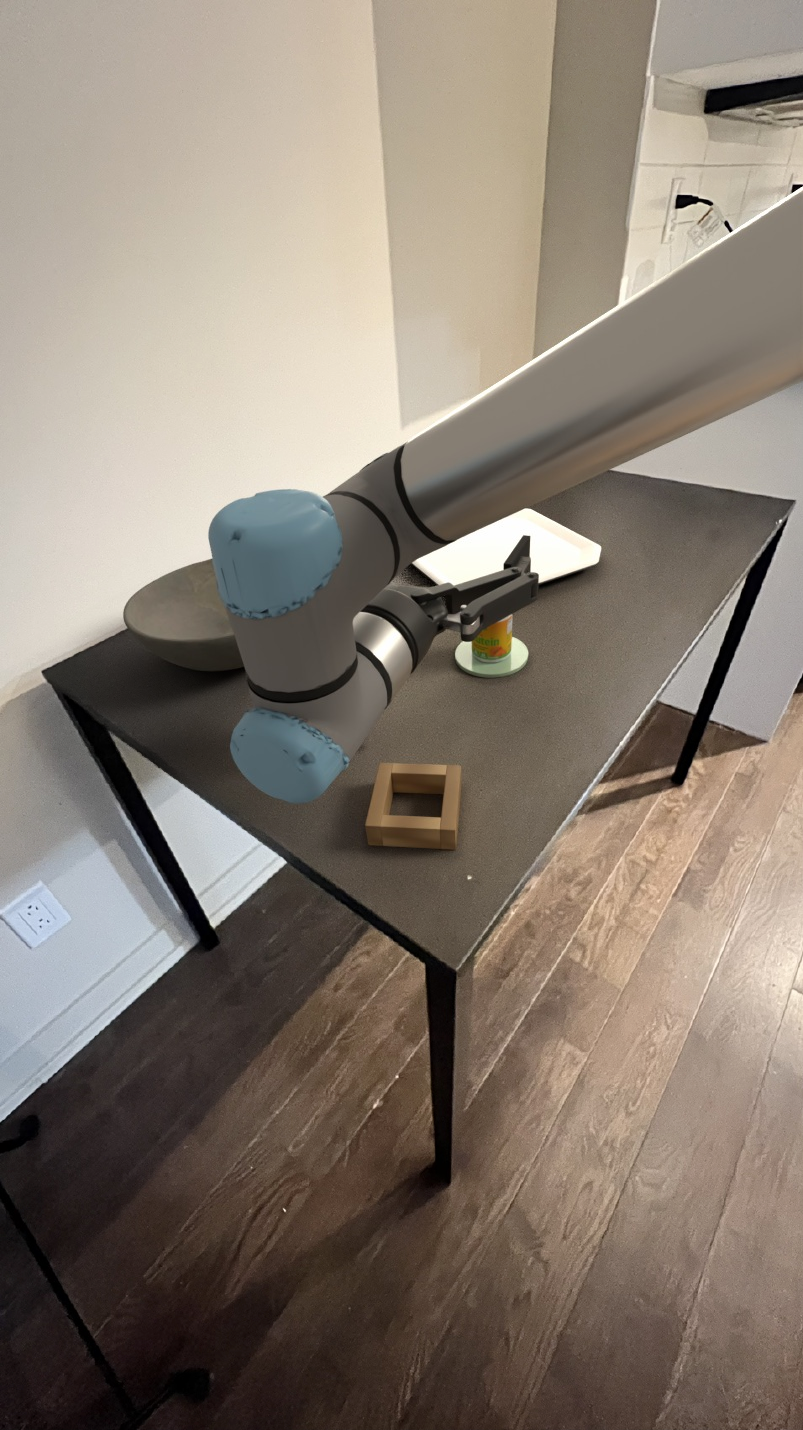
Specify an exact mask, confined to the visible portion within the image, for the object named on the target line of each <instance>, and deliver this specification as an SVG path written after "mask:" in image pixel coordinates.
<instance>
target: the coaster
mask: <svg viewBox="0 0 803 1430" xmlns="http://www.w3.org/2000/svg"><path fill="white" fill-rule="evenodd" d="M528 649H529V648H528V647H527V646H526V645H525V643H524V642H523V641H521V640H520V639H519V638H516V637H514V636H512V645H511V653H510V655H509V657H508V658H506V659H505V660H503V661H500V662H495V663H487V662H482V661H480V660H478V659H476V658H475V657H474V656H473V654H472V641H471V642H464V641H461V642H460V643H459V644H458V645H457V646H456V649H455V651H454V660H455V663H456V665H457V666H458V667H459V669H460V670H462V671H463V672H465V673H466V674H469V675H472V676H475V677H479V678H488V679H494V678H503V677H507V676H511V675H513V674H515V673H518V672H519V671H521V670H522V669H523V668H524V667H525V666H526V665H527V663H528V660H529V650H528Z"/></svg>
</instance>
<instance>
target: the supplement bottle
mask: <svg viewBox="0 0 803 1430" xmlns="http://www.w3.org/2000/svg"><path fill="white" fill-rule="evenodd" d="M513 614H514V613H513ZM513 614H511V615H509V616H507V617H506V618H504V619H502V620H500V621H498V622H497V623H495V624H493V625H491V626H489V627H487V628H486V629H484V630H482V631H481V632H480V634H479V635H478V636H477V637H476V638H475V639H474V640H473V641H472V654H473V656H474V657H475V658H476V659H478V660H480V661H482V662H487V663H495V662H500V661H503V660H505V659H506V658H508V657H509V655H510V653H511V645H512V637H513Z"/></svg>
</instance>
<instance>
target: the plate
mask: <svg viewBox="0 0 803 1430" xmlns="http://www.w3.org/2000/svg"><path fill="white" fill-rule="evenodd" d="M523 535H527V536H531V537H530V558H531V572H535V573H538V574H539V583H538V586H540V585H543V584H546V583H549V582H552V581H556V580H557V579H561V578H564V577H567V576H569V575H573V574H575V573H579V572H581V571H584V570H588V569H591V568H593V567H596V566H598V564H599V562H600V558H601V553H602V546H601V545H600V544H598V543H597V542H595V541H592V540H590V539H589V538H587V537H585V536H583V535H581V534H579V533H578V532H575V531H573V530H571V529H569V528H568V527H566V526H563V525H562V524H560V523H558V522H556V521H554V520H553V519H550V518H549V517H546V516H544V515H543V514H541V513H539V512H537V511H535V510H533V509H531V508H525V509H523V510H521V511H519V512H517V513H514V514H512V515H510V516H508V517H506V518H504V519H501V520H499V521H497V522H495V523H493V524H490V525H488V526H486V527H484V528H482V529H480V530H477V531H475V532H473V533H471V534H469V535H467V536H464V537H462V538H460V539H458V540H457V541H455V542H453V543H450V544H448V545H446V546H445V547H443V548H440V549H438V550H436V551H434V552H432V553H430V554H427V555H425V556H423V557H421V558H419V559H417V560H416V561H414V562H412V563H411V564H410V565H412V566H413V567H414V568H416V570H418V571H419V572H421V573H422V574H423V575H424V576H425V577H427V578H428V580H430V581H431V582H433V583H434V584H435V586H438V585H441V584H444V583H447V582H450V583H452V584H453V585H457V584H460V583H463V582H467V581H470V580H473V579H476V578H479V577H483V576H486V575H489V574H492V573H495V572H499V571H502V570H503V567H504V562H505V561H506V559H507V558H508V556H509V555H510V554H511V552H512V551H513V549H514V548H515V546H516V545H517V543H518V542H519V541H520V539H521V538H522V536H523Z"/></svg>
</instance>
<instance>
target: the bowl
mask: <svg viewBox="0 0 803 1430" xmlns="http://www.w3.org/2000/svg"><path fill="white" fill-rule="evenodd" d="M123 607H124V608H123V614H122V619H123V622H124V625H125V627H126V628H127V630H128V631H129V633H130V634H131V635H132V636H133V637H134V639H135V640H136V641H137V642H138V643H139V644H141V645H142V646H143V648H145V649H146V650H148V651H149V652H151V653H152V654H154V655H155V656H157V657H158V658H160V659H162V660H164V661H166V662H169V663H171V664H173V665H176V666H179V667H181V668H185V669H189V670H194V671H200V672H221V671H222V672H223V671H230V670H231V671H232V670H235V669H236V670H237V669H241V668H245V667H244V664H243V661H242V657H241V654H240V651H239V648H238V645H237V642H236V638H235V635H234V632H233V629H232V626H231V623H230V620H229V617H228V614H227V611H226V608H225V605H224V603H223V602H222V600H221V599H220V595H219V592H218V589H217V578H216V574H215V570H214V566H213V562H212V558H208V559H206V560H203V561H198V562H194V563H191V564H188V565H186V566H183V567H179V568H177V569H175V570H172V571H169V572H168V573H166V574H164V575H162V576H160V577H158V578H156V579H154V580H152V581H151V582H148V583H147V584H145V585H144V586H142V587H141V588H139V589H138V590H137V591H136V592H135V593H133V594H132V596H131V597H130V598H129V599H128V601H127V602H126V603H125V605H124V606H123Z"/></svg>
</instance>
